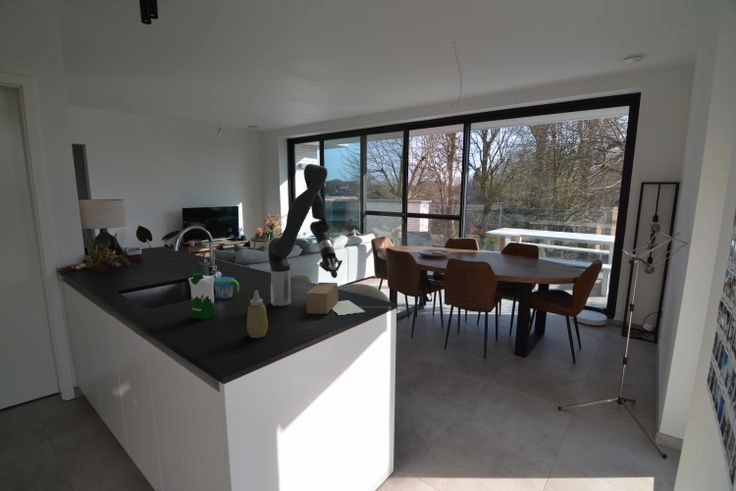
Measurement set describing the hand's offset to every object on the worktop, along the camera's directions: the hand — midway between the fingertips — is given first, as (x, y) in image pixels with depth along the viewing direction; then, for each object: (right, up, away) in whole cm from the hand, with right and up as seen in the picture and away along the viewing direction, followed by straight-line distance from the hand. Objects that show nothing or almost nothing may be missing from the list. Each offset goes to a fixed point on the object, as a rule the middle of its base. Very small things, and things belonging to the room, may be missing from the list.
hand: (335, 277), depth 188 cm
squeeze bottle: (-26, -19, -45) cm, 55 cm away
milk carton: (-57, -16, -22) cm, 63 cm away
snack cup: (-60, -12, +8) cm, 62 cm away
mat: (+5, -14, -9) cm, 18 cm away
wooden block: (-3, -7, 0) cm, 8 cm away
